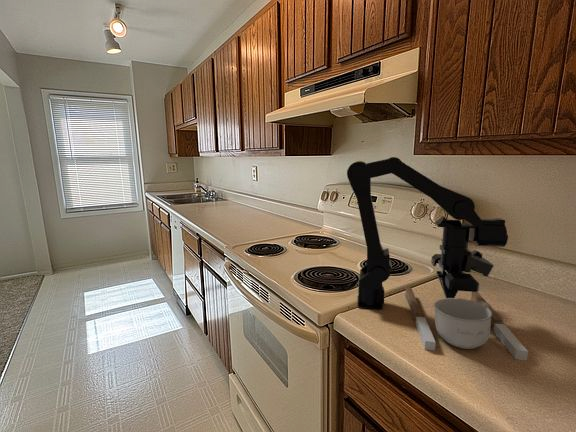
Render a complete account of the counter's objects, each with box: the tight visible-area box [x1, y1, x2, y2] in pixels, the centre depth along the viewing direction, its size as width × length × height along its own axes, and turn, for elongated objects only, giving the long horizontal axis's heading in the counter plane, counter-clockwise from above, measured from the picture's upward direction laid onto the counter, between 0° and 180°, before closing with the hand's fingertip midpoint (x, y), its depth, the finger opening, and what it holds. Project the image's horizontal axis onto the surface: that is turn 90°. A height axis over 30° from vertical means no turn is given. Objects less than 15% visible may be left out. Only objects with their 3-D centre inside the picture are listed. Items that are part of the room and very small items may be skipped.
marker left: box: [415, 316, 437, 351], centre depth 69 cm, size 2×10×2 cm, turn 168°
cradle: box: [404, 286, 503, 329], centre depth 80 cm, size 19×15×2 cm
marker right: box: [493, 323, 529, 361], centre depth 66 cm, size 2×10×2 cm, turn 168°
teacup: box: [434, 297, 492, 350], centre depth 68 cm, size 14×11×8 cm
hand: (449, 302), depth 79 cm, fingers closed
